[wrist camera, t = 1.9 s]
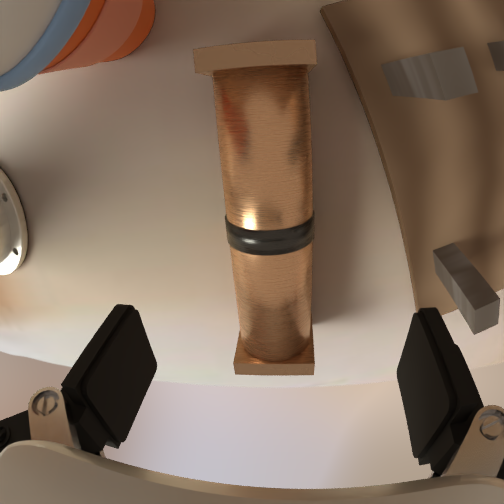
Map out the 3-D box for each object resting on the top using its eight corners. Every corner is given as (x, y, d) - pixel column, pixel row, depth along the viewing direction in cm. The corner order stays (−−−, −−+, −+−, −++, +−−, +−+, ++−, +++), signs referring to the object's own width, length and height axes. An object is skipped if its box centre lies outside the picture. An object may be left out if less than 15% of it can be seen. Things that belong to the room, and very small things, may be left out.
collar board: (416, 314, 24) (447, 387, 17) (319, 11, 15) (340, -37, 8) (538, 260, 20) (586, 311, 13) (487, -15, 11) (554, -36, 4)
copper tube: (310, 324, 26) (313, 375, 21) (244, 325, 26) (235, 374, 22) (307, 54, 16) (314, 39, 12) (217, 60, 17) (193, 49, 12)
